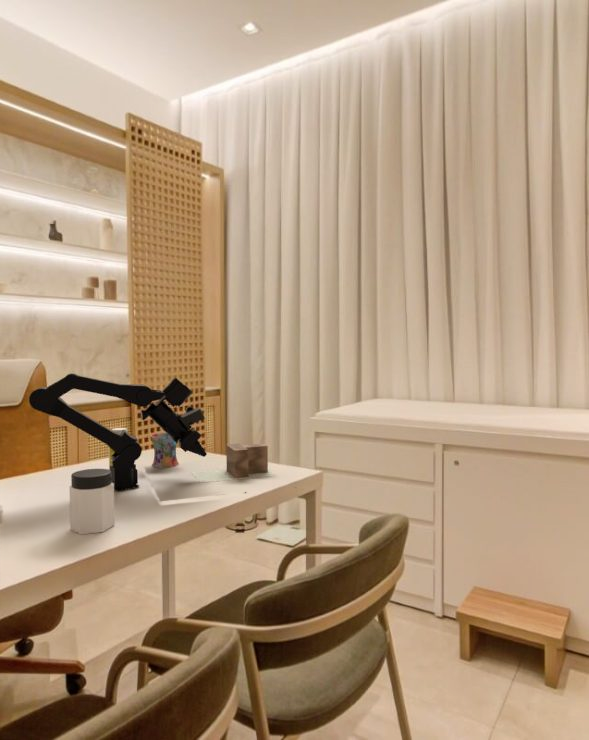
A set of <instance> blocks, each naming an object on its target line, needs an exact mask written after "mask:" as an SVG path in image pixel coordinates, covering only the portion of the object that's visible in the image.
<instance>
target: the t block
mask: <svg viewBox="0 0 589 740" xmlns="http://www.w3.org/2000/svg"><path fill="white" fill-rule="evenodd" d="M225 446H226V447H225V449H226V451H225V453H226V454H225V455H226V457H225V458H226V469H227V470H226V472H228V473H229V474H230V475H231V476H232V477H233V479H236V478H246V477H249V476H248V474H259V473H269V472H268V470H269V468H268V467H269V465H268V464H269V463H268V462H269V461H268V459H269V458H268V457H269V455H268V453H269V452H268V450H269V449H268V448H269V447H268V445H267V444H265V443H260V444H246V445H244V444H243V445H242V444H240V443H233V444H231V443H227V444H226V445H225Z"/></svg>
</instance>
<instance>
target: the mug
mask: <svg viewBox="0 0 589 740" xmlns="http://www.w3.org/2000/svg"><path fill="white" fill-rule="evenodd" d="M149 438H150V440H151V442H152V446H153V450H154V451H153V452H154V456H153V461H152V464H151V467H153V468H156V469H157V468H159V469H166V468H175V467H178V466H179V461H178V458H177V446H178V445H177V444H178V442H177V443H176V442H175V441H174V440H173V439H172V438H171V436H170V435H168V434H167V433H166V432H159V433H158V432H157V433H153V434H150V435H149Z"/></svg>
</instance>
